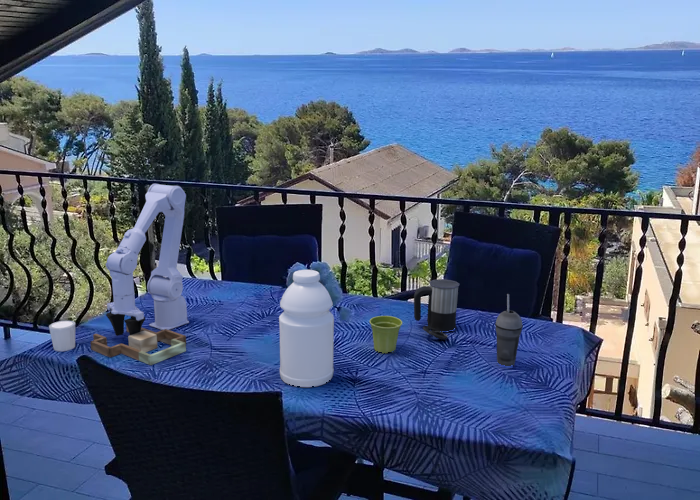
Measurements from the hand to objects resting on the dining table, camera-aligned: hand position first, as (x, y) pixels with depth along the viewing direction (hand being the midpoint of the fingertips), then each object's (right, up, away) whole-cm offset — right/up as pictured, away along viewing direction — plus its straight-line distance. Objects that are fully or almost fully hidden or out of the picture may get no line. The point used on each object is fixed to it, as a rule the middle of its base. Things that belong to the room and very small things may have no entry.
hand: (127, 337), depth 182 cm
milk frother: (+93, 0, +12) cm, 93 cm away
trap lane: (+4, -2, -2) cm, 5 cm away
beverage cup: (+108, -6, -11) cm, 108 cm away
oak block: (+6, -3, -4) cm, 8 cm away
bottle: (+54, -7, -20) cm, 58 cm away
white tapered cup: (-17, -2, -4) cm, 17 cm away
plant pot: (+75, -3, -2) cm, 75 cm away
